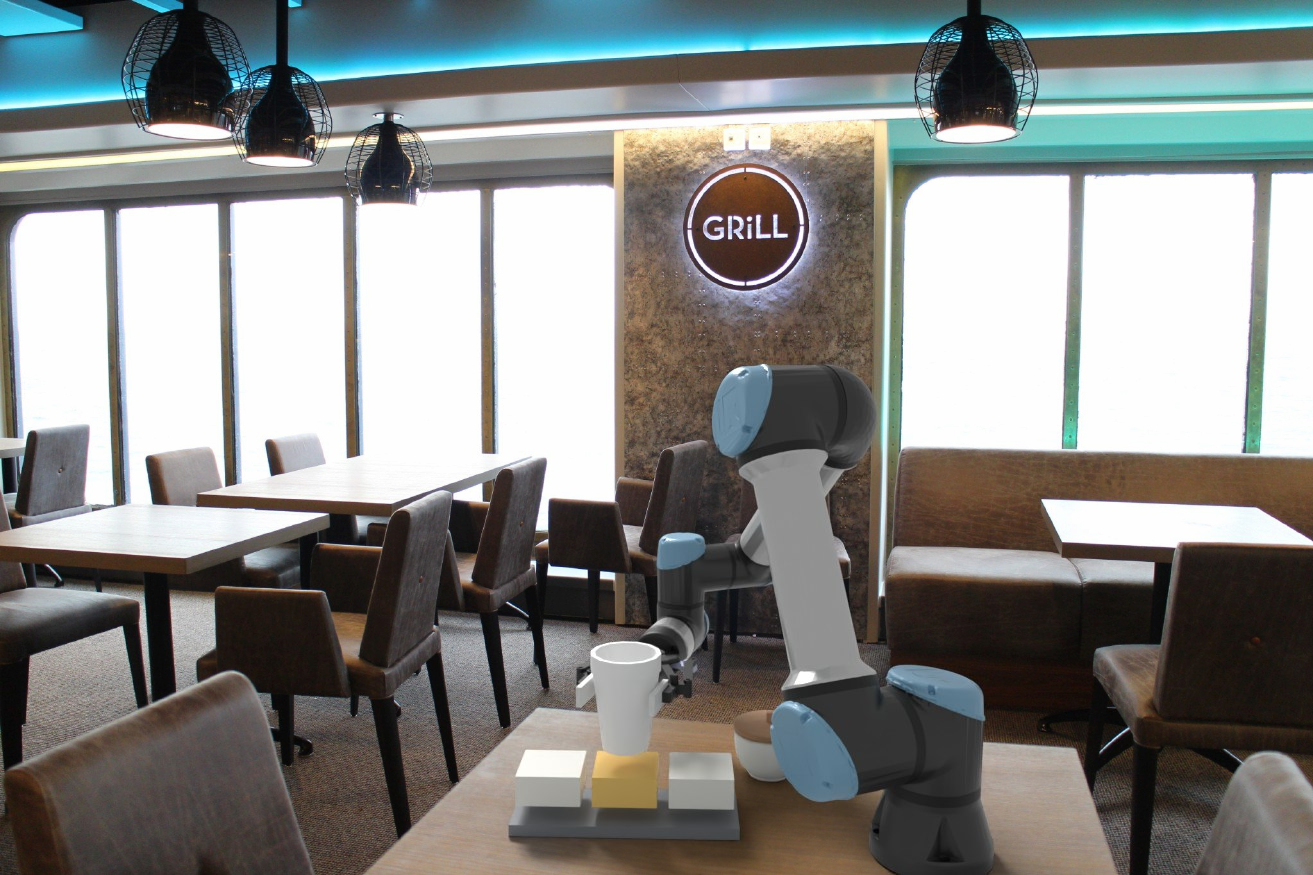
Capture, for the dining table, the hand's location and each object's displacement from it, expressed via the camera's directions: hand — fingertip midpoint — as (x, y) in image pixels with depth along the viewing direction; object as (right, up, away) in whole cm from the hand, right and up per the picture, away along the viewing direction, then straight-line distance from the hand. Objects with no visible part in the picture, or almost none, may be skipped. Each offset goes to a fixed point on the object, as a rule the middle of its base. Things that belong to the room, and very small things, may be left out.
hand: (614, 701), depth 127 cm
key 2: (+11, -14, +5) cm, 19 cm away
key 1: (-9, -14, +6) cm, 17 cm away
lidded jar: (+22, -16, +20) cm, 34 cm away
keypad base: (+1, -17, +6) cm, 18 cm away
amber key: (+1, -14, +5) cm, 15 cm away
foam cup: (+1, -8, +5) cm, 9 cm away
